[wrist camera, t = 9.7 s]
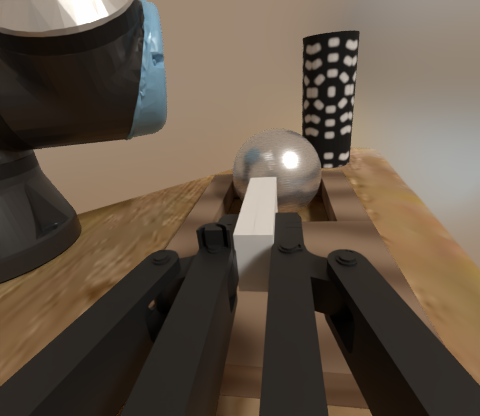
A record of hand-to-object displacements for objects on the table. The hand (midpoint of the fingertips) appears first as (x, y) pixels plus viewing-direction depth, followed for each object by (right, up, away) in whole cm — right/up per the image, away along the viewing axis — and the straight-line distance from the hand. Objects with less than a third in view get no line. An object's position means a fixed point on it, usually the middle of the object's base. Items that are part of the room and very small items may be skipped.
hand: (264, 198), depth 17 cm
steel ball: (+3, +3, +15) cm, 16 cm away
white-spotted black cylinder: (+14, +8, +35) cm, 39 cm away
